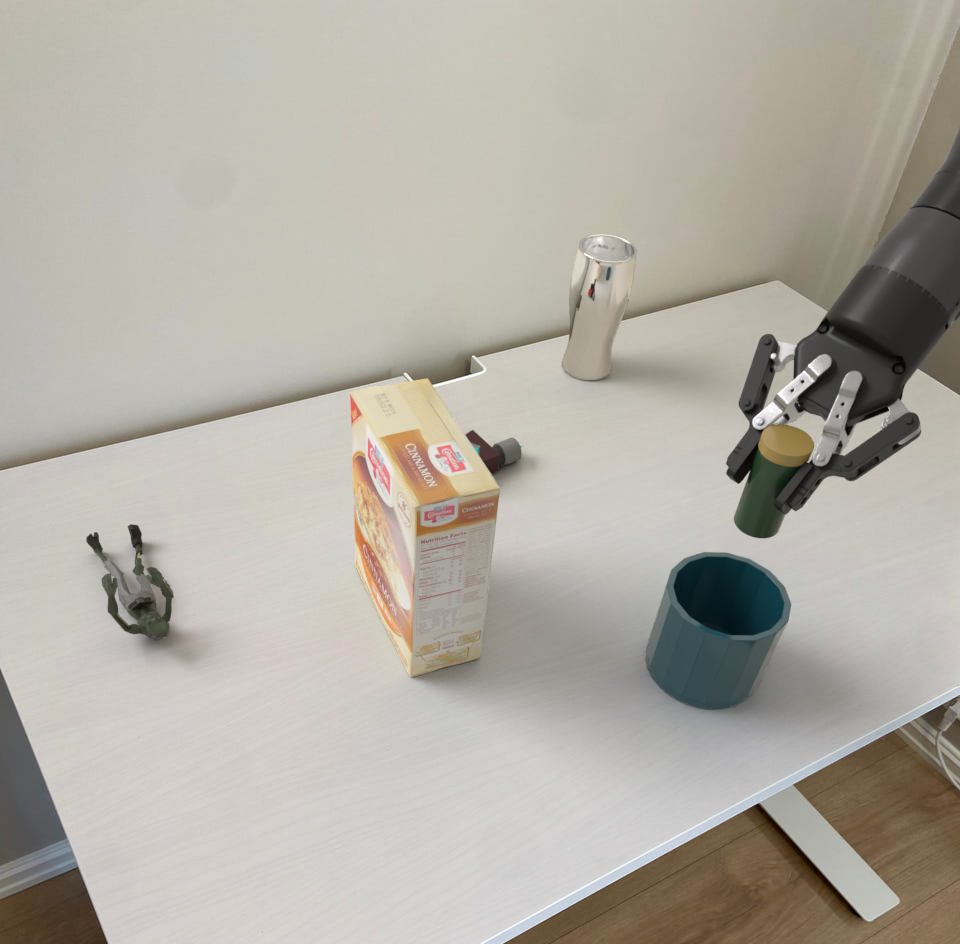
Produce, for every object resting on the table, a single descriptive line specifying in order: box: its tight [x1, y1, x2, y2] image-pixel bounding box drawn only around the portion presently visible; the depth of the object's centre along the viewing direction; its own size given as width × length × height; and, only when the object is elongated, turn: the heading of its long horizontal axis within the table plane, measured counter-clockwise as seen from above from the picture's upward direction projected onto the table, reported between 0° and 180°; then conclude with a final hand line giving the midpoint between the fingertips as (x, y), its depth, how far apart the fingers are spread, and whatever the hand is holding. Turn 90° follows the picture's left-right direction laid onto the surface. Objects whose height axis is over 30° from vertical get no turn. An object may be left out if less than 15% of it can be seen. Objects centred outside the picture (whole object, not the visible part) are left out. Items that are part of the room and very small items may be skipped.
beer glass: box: [561, 233, 638, 381], centre depth 111 cm, size 7×7×15 cm
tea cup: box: [645, 551, 792, 710], centre depth 83 cm, size 10×10×9 cm
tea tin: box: [733, 424, 815, 539], centre depth 72 cm, size 4×4×8 cm
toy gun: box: [464, 429, 523, 474], centre depth 102 cm, size 10×12×5 cm
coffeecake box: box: [349, 377, 501, 678], centre depth 81 cm, size 15×7×20 cm, turn 23°
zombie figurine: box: [85, 523, 175, 641], centre depth 84 cm, size 5×7×15 cm
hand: (756, 493), depth 71 cm, fingers closed on tea tin, 3 cm apart
